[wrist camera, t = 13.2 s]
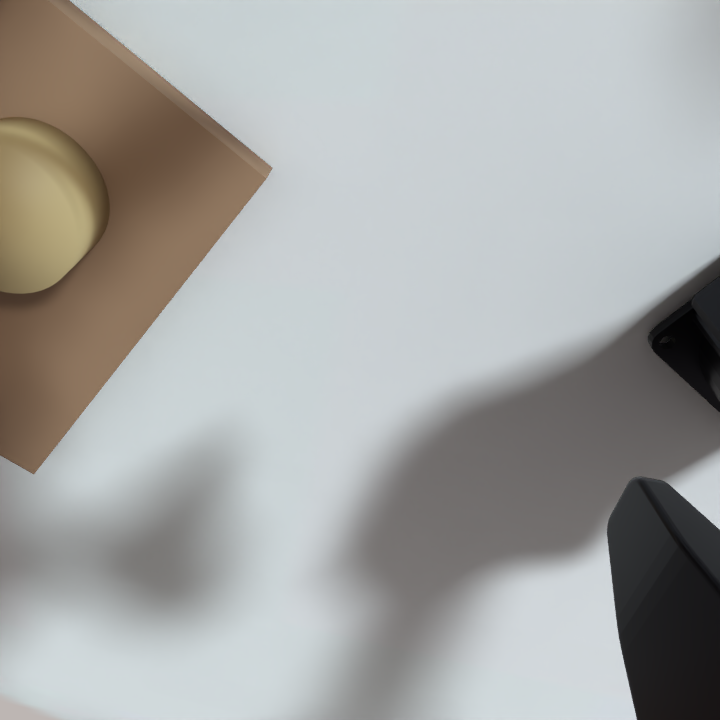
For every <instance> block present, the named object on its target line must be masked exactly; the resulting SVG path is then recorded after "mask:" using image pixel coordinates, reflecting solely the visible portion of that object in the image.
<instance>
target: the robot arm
mask: <svg viewBox="0 0 720 720" xmlns="http://www.w3.org/2000/svg"><path fill="white" fill-rule="evenodd" d="M666 336H671V339H670V340H669V341H668V342H665V343H660V341H661V339H662V338H664V337H666ZM648 342H649V344H650V346H651V348H652V349H653V351H654V352H655V353H656V354H657V355H658V356H659V357H660V358H661V359H662V360H663V361H665V362H666V363H667V364H668V365H669V366H670V367H671V368H672V369H673V370H674V371H675V372H677V373H678V374H679V375H680V376H681V377H682V378H683V379H684V380H685V381H686V382H687V383H688V384H690V385H691V386H692V387H693V388H694V389H695V390H696V391H697V392H698V393H699V394H700V395H701V396H703V397H704V398H705V399H706V400H707V401H708V402H709V403H710V404H711V405H712V406H713V407H715V408H716V409H717V410H718V411H719V412H720V276H719V277H718V278H717V279H716V280H714V281H713V282H712V283H710V284H709V285H708V286H706V287H705V288H704V289H702V290H701V291H700V292H698V293H697V294H696V295H695V296H694V298H693V299H692V300H690V301H689V302H688V303H686V304H685V305H684V306H682V307H681V308H680V309H678V310H677V311H676V312H675V313H673V314H672V315H671V316H669V317H668V318H667V319H665V320H664V321H663V322H661V323H660V324H659V325H657V326H656V327H655V328H654V329H653V330H652V331H651V332H650V334H649V336H648ZM607 537H608V546H609V555H610V565H611V574H612V583H613V592H614V601H615V610H616V619H617V627H618V634H619V640H620V645H621V650H622V655H623V659H624V664H625V668H626V672H627V677H628V681H629V686H630V690H631V695H632V699H633V704H634V708H635V713H636V717H637V720H720V530H719V529H718V528H717V527H716V526H715V525H714V524H712V523H711V522H710V521H709V520H708V519H707V518H706V517H705V516H704V515H702V514H701V513H700V512H699V511H698V510H697V509H696V508H695V507H693V506H692V505H691V504H690V503H689V502H688V501H687V500H686V499H685V498H683V497H682V496H681V495H680V494H679V493H678V492H677V491H676V490H675V489H673V488H672V487H671V486H670V485H669V484H668V483H666V482H664V481H661V480H656V479H650V478H645V477H635V478H633V479H632V480H631V481H630V482H629V483H628V485H627V487H626V488H625V490H624V492H623V494H622V496H621V497H620V499H619V501H618V503H617V505H616V507H615V508H614V510H613V512H612V514H611V516H610V518H609V521H608V527H607Z"/></svg>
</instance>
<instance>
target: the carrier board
mask: <svg viewBox="0 0 720 720" xmlns="http://www.w3.org/2000/svg"><path fill="white" fill-rule="evenodd" d="M271 170H272V167H271V166H269V165H268V164H267V163H266V162H265V161H263V160H262V159H261V158H260V157H258V156H257V155H256V154H255V153H254V152H252V151H251V150H250V149H249V148H248V147H246V146H245V145H244V144H243V143H241V142H240V141H239V140H238V139H237V138H235V137H234V136H233V135H232V134H231V133H229V132H228V131H227V130H226V129H224V128H223V127H222V126H221V125H220V124H218V123H217V122H216V121H215V120H214V119H212V118H211V117H210V116H209V115H207V114H206V113H205V112H204V111H203V110H201V109H200V108H199V107H198V106H197V105H195V104H194V103H193V102H192V101H190V100H189V99H188V98H187V97H186V96H184V95H183V94H182V93H181V92H180V91H178V90H177V89H176V88H175V87H174V86H172V85H171V84H170V83H169V82H167V81H166V80H165V79H164V78H163V77H161V76H160V75H159V74H158V73H157V72H155V71H154V70H153V69H152V68H150V67H149V66H148V65H147V64H146V63H144V62H143V61H142V60H141V59H140V58H138V57H137V56H136V55H135V54H133V53H132V52H131V51H130V50H129V49H127V48H126V47H125V46H124V45H123V44H121V43H120V42H119V41H118V40H116V39H115V38H114V37H113V36H112V35H110V34H109V33H108V32H107V31H106V30H104V29H103V28H102V27H101V26H99V25H98V24H97V23H96V22H95V21H93V20H92V19H91V18H90V17H89V16H87V15H86V14H85V13H84V12H82V11H81V10H80V9H79V8H78V7H76V6H75V5H74V4H73V3H72V2H70V1H69V0H0V455H1V456H3V457H4V458H6V459H8V460H10V461H11V462H13V463H15V464H17V465H18V466H20V467H22V468H24V469H25V470H27V471H29V472H31V473H32V474H34V473H35V472H36V471H37V470H38V468H39V467H40V466H41V465H42V463H43V462H44V461H45V459H46V458H47V457H48V456H49V454H50V453H51V452H52V451H53V449H54V448H55V447H56V445H57V444H58V443H59V442H60V440H61V439H62V438H63V437H64V435H65V434H66V433H67V431H68V430H69V429H70V428H71V426H72V425H73V424H74V423H75V421H76V420H77V419H78V417H79V416H80V415H81V414H82V412H83V411H84V410H85V409H86V407H87V406H88V405H89V403H90V402H91V401H92V400H93V398H94V397H95V396H96V395H97V393H98V392H99V391H100V389H101V388H102V387H103V386H104V384H105V383H106V382H107V381H108V379H109V378H110V377H111V375H112V374H113V373H114V372H115V370H116V369H117V368H118V367H119V365H120V364H121V363H122V361H123V360H124V359H125V358H126V356H127V355H128V354H129V353H130V351H131V350H132V349H133V347H134V346H135V345H136V344H137V342H138V341H139V340H140V339H141V337H142V336H143V335H144V333H145V332H146V331H147V330H148V328H149V327H150V326H151V325H152V323H153V322H154V321H155V319H156V318H157V317H158V316H159V314H160V313H161V312H162V311H163V309H164V308H165V307H166V305H167V304H168V303H169V302H170V300H171V299H172V298H173V297H174V295H175V294H176V293H177V291H178V290H179V289H180V288H181V286H182V285H183V284H184V283H185V281H186V280H187V279H188V277H189V276H190V275H191V274H192V272H193V271H194V270H195V269H196V267H197V266H198V265H199V263H200V262H201V261H202V260H203V258H204V257H205V256H206V255H207V253H208V252H209V251H210V249H211V248H212V247H213V246H214V244H215V243H216V242H217V241H218V239H219V238H220V237H221V235H222V234H223V233H224V232H225V230H226V229H227V228H228V227H229V225H230V224H231V223H232V221H233V220H234V219H235V218H236V216H237V215H238V214H239V213H240V211H241V210H242V209H243V207H244V206H245V205H246V204H247V202H248V201H249V200H250V199H251V197H252V196H253V195H254V193H255V192H256V191H257V190H258V188H259V187H260V186H261V185H262V183H263V182H264V181H265V179H266V178H267V177H268V175H269V173H270V171H271Z"/></svg>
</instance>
